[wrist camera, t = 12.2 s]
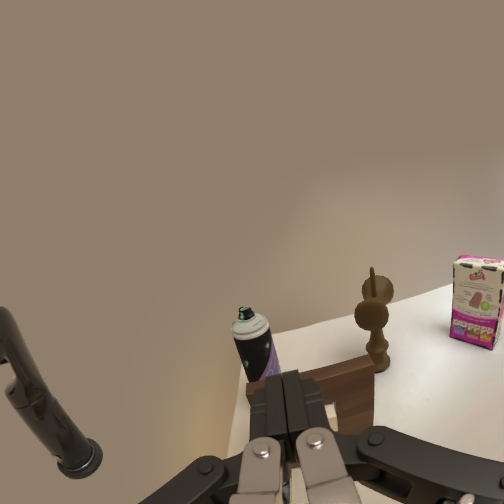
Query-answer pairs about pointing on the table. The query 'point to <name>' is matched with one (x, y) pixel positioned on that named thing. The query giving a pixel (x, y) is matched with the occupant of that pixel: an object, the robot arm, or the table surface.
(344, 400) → the wall plate
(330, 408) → the switch paddle
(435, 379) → the table surface
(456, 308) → the candy bar box
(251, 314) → the spray can
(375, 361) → the kendama
